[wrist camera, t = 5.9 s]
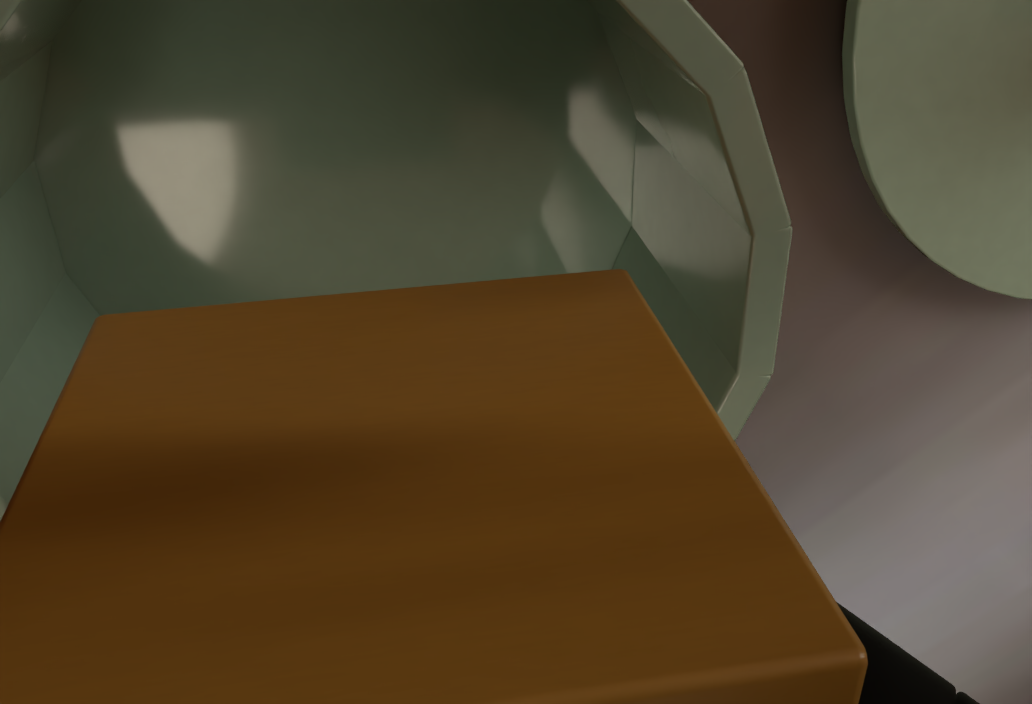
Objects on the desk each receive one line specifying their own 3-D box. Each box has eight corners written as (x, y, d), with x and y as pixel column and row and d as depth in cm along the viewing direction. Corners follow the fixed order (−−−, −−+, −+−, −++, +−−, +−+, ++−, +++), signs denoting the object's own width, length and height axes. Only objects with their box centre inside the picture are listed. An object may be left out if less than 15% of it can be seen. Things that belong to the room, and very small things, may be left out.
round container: (642, 413, 22) (742, 611, 17) (101, 472, 21) (15, 713, 15) (674, -181, 16) (849, -178, 11) (-87, -161, 15) (-346, -146, 9)
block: (610, 630, 12) (769, 1099, 8) (197, 687, 11) (110, 1240, 7) (627, 264, 9) (877, 656, 5) (94, 312, 9) (-143, 808, 4)
